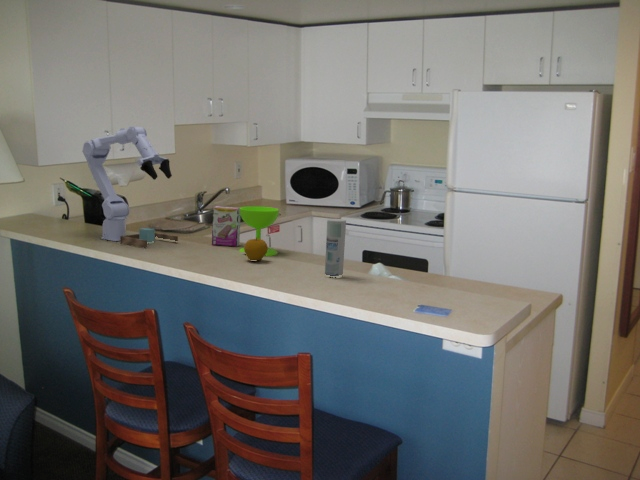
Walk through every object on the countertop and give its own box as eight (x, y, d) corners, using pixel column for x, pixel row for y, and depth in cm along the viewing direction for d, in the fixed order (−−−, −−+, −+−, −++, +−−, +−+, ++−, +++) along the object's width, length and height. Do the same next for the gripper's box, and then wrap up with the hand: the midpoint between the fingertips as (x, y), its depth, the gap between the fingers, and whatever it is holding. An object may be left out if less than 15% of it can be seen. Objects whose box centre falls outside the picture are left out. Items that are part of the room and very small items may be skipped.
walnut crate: (120, 243, 277) (120, 236, 276) (153, 238, 291) (153, 232, 291) (145, 248, 268) (145, 240, 268) (177, 243, 283) (177, 236, 283)
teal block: (139, 242, 280) (139, 228, 280) (146, 241, 284) (146, 227, 283) (147, 244, 278) (147, 230, 277) (154, 243, 281) (154, 229, 280)
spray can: (346, 276, 233) (349, 220, 230) (337, 279, 228) (340, 221, 225) (330, 273, 237) (333, 218, 234) (321, 276, 231) (323, 219, 228)
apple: (263, 264, 247) (264, 240, 246) (240, 262, 249) (241, 238, 248) (270, 260, 256) (270, 237, 255) (247, 258, 258) (248, 235, 256)
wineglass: (231, 253, 266) (232, 209, 263) (247, 247, 281) (248, 205, 278) (269, 257, 261) (270, 212, 258) (282, 251, 276) (284, 208, 273)
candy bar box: (211, 245, 282) (212, 207, 280) (214, 243, 287) (215, 205, 285) (237, 247, 281) (238, 208, 279) (239, 245, 286) (241, 207, 284)
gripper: (137, 145, 262) (154, 172, 259) (165, 144, 274) (181, 170, 271) (129, 156, 266) (145, 183, 263) (156, 155, 278) (172, 181, 275)
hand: (163, 177), depth 267 cm, fingers open, 7 cm apart
